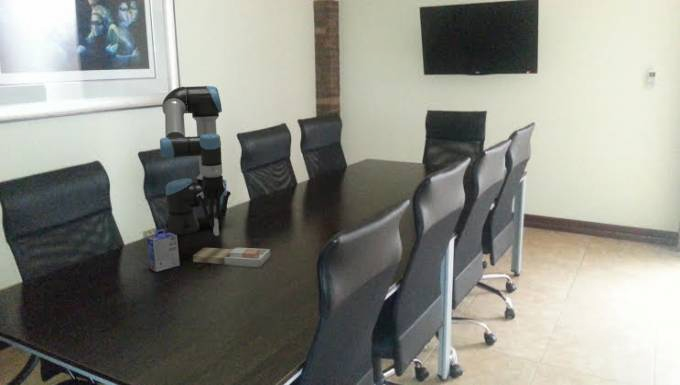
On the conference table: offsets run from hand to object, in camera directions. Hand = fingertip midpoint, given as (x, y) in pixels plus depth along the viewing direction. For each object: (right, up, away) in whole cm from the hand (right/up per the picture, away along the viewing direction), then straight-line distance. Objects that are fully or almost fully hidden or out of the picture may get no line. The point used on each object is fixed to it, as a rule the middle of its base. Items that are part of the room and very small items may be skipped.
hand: (216, 234), depth 217 cm
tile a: (+9, -9, 0) cm, 13 cm away
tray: (+12, -10, -1) cm, 16 cm away
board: (-1, -10, +2) cm, 10 cm away
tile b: (+14, -9, -1) cm, 17 cm away
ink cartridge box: (-18, -12, -6) cm, 23 cm away
